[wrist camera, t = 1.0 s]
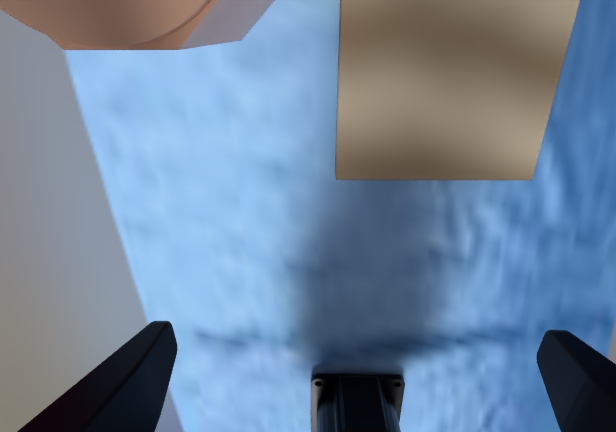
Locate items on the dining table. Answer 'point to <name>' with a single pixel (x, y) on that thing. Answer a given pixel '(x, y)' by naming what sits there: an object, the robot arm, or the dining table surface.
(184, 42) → the salmon domed prism
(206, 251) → the dining table surface
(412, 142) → the birch board
